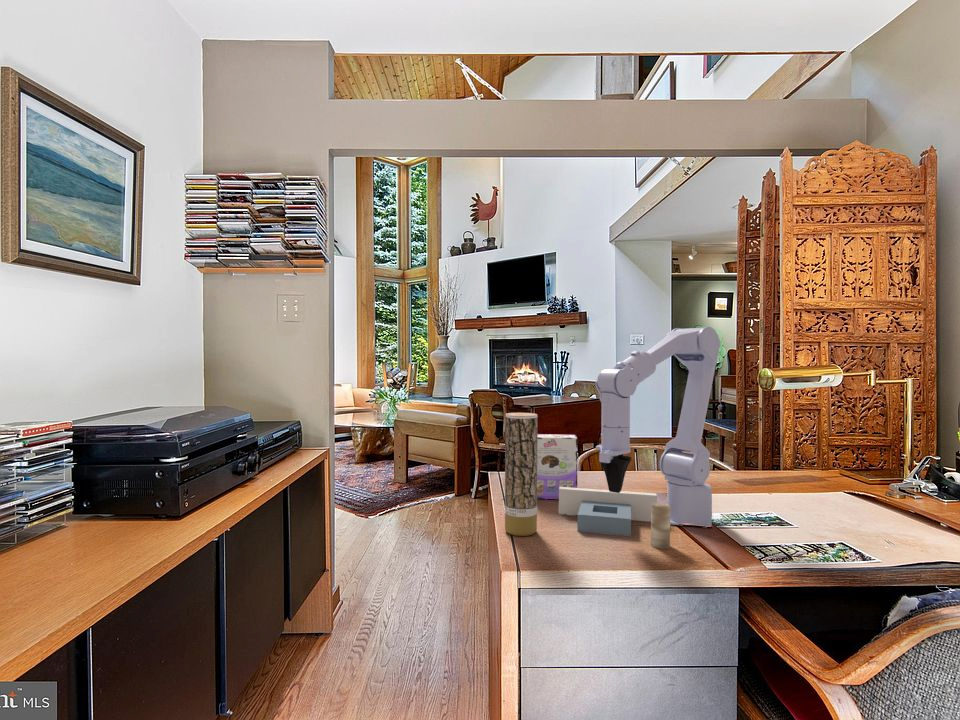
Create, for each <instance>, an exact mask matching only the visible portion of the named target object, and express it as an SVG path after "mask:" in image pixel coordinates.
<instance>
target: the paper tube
mask: <svg viewBox="0 0 960 720" xmlns="http://www.w3.org/2000/svg"><path fill="white" fill-rule="evenodd" d="M538 417H539V416H538V414H537V413H534V412H533V413H532V412H508V413H507V412H506V413H505V428H504V429H505V430H504V431H505V433H504V434H505V435H504V436H505V439H504V440H505V442H504V444H505V445H504V448H505V449H504V452H505V453H504V457H505V458H504V463H505V464H504V466H505V467H504V530H505V532H506V533H508V534H509V535H512V536H516V537H526V536H527V537H528V536H531V535H534V534H535V533H536V532H537V528H538V527H537V526H538V524H537V523H538V519H537V518H538V517H537V516H538V499H537V438H538V434H539V433H538V430H539V429H538V425H539V424H538Z"/></svg>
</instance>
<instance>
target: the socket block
mask: <svg viewBox="0 0 960 720" xmlns="http://www.w3.org/2000/svg"><path fill="white" fill-rule="evenodd" d="M576 526H577V529H576V530H577V532H579V531H583V532H582V533H590V532H593V533H592V534H601V533H602V534H603V535H605V534H606V535H612V534H614V536H627V537H631V536H632V520H631V505H629V504H616V503H604V502H591V501H582V502H581V505H580V508H579V512H578V516H577V525H576Z"/></svg>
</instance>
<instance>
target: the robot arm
mask: <svg viewBox="0 0 960 720" xmlns="http://www.w3.org/2000/svg"><path fill="white" fill-rule="evenodd" d="M720 348H721V338H720V337H719V335H718V333H717V331H716V329H714V327H711V326H705V327H690V328H680V327H676V328H673V329H672V330H671V331H669V332H667V333H666V334H665V337H664V338H663V339H662V340H660V341H659V342H658V343H656V344H655V345H653V346H652V347H651V348H649V350H647V351H645V350H644V351H643V350H633V351H631V352H630V356H629V357H627V358H626V359H624V360H622V361H618V362H616V364H615V366H614V367H612V368H609V367H608V368H604V369H603V370H601V371H600V373H599V374H598V376H597V379H596V380H595V382H594V384H595V389H596V390H597V392H598V394H599V401H600V403H601V422H600V424H601V432H600V433H601V435H600V436H601V443H600V444H598V445H596V446H595V450H598V451H599V454H598V455H599V457H598V461H599V464H600V466H601V467H602V469H603V471H604V474H605V478H606V482H607V483H606V484H607V487H608V490H609V491H610V492H616V493H620V492H621V491H622V489H623V485H624V480H625V477H626V472H627V470H628V467H629V465H630V463H631V461H632V457H631V456H629V455H628V456H627V455H626V454H630V453H631V443H630V442H631V440H630V438H631V435H630V433H631V432H630V431H631V429H630V428H631V427H630V425H631V396H633V395H634V394H635V392H636V390H637V386H638V385H639V384H640V383H641V382H644V380H646V379H647V378H649V377H651V376H652V375H653V374H655V372H656V370H657V366H658V364H661V363H662V362H664V361H666V360H667V359H669V358H670V357H672V356H674V357H675V358H676V359H677V360H678V361H679V362H680V363H681V364H682V365H683V366H685V367H686V369H687V370H688V375H687V381H686V386H685V390H684V395H683V401H682V406H681V411H680V417H679V421H678V427H677V431H676V434H675V437H673V438H672V439H670V440H669V441H668V442H666V443H665V448H664V451H663V453H662V454H661V456H660V459H659V462H658V463H659V470H660V472H661V474H662V475H663V476H664V480H665V481H666V483H667V484H666V486H667V487H666V504H668V505H670V525H674V526H675V525H676V526H680V525H679V524H681V523H690V524H691V523H693V524H697V525H704V526H712V527H713V524H712V521H713V520H712V519H713V492H712V486H711V484H709V483H705V482H706V481H707V479H708V478H709V476H710V472H711V466H710V457H711V456H710V455H711V452H710V451H709V450H708V448H707V447H706V446H705V445H704V444H703V443H702V439H703V433H704V428H705V422H706V417H707V411H708V406H709V403H710V402H709V401H710V398H711V397H710V396H711V391H712V386H713V381H714V378H715V377H714V376H715V370H716V366H717V363H718V359H719V353H720Z"/></svg>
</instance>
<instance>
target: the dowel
mask: <svg viewBox="0 0 960 720" xmlns="http://www.w3.org/2000/svg"><path fill="white" fill-rule="evenodd" d="M650 547H652V548H655V549H659V550H668V549H670V548H671V524H670V505H668V504H667V503H661V502H657V503H653V504H651V522H650Z"/></svg>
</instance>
